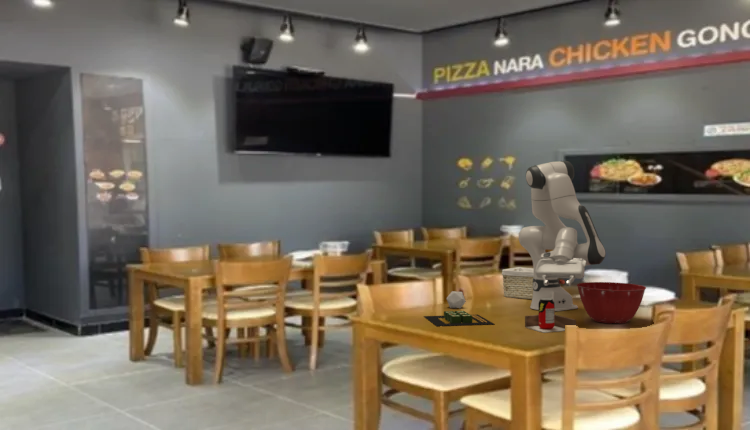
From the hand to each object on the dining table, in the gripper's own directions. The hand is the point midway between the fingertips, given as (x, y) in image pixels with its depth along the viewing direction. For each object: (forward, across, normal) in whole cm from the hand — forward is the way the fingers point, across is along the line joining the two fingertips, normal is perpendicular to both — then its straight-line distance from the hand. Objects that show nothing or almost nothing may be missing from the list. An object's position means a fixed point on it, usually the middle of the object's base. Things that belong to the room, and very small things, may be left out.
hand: (556, 285), depth 326 cm
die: (-6, +57, -29) cm, 64 cm away
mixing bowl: (-2, -17, -28) cm, 33 cm away
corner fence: (+18, +2, -6) cm, 19 cm away
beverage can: (+18, +2, -5) cm, 19 cm away
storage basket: (-39, +37, -66) cm, 85 cm away
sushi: (+17, +42, -6) cm, 46 cm away
